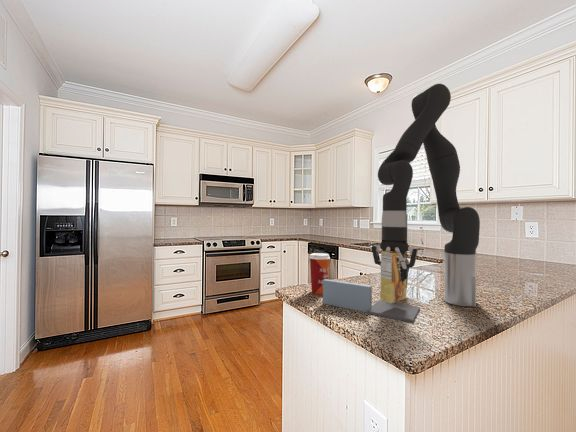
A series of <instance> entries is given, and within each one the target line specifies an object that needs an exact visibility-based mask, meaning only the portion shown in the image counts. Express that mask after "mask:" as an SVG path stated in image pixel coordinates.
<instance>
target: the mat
mask: <svg viewBox="0 0 576 432" xmlns="http://www.w3.org/2000/svg"><path fill="white" fill-rule="evenodd" d="M420 310H421V309H420V306H417V305H411V304H410V305H409V304H404V303H398V302H394V303H388V302H384V301H381V300H380V299H378V300H377V301H376V302H375V303H374V304H373V305H372V309H370V310H367V312H366V313H367V315H368V314H369V315H373V316H378V317H383V318H386V319H387V318H389V319H394V320H398V321H402V322H403V321H404V322H408V323H414V322H415V320H416V318H417V317H418V314H419V312H420Z"/></svg>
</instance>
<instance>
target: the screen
mask: <svg viewBox="0 0 576 432" xmlns="http://www.w3.org/2000/svg"><path fill="white" fill-rule="evenodd" d="M372 289H373V287H372V285H370V284H364V283H356V282H349V281H343V280H334V279H329V278H328V279H324V280H323V295H322V304H324V305H328V306H334V307H339V308H344V309H347V310H352V311H359V312H363V313H364V312H365V313H367V310H370V309H372V306H373V305H372V303H373V301H372V300H373V299H372V298H373V297H372V296H373V295H372V293H373V291H372Z"/></svg>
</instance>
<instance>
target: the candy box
mask: <svg viewBox="0 0 576 432" xmlns="http://www.w3.org/2000/svg"><path fill="white" fill-rule="evenodd" d="M404 255H405V258H406V262H407V259H408V250H407V251H406V253H405V254H404ZM404 255H403V257H404ZM380 261H381V266H380V299H379V300H381V301H384V302H388V303H398V302H399V301H402V300H406V299H407V291H406V281H407V279H406V280H405V281H402V269H403V267H402V265H401V262H400V261H399V257H398V252H395V251H381V253H380ZM407 282H408V281H407Z"/></svg>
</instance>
